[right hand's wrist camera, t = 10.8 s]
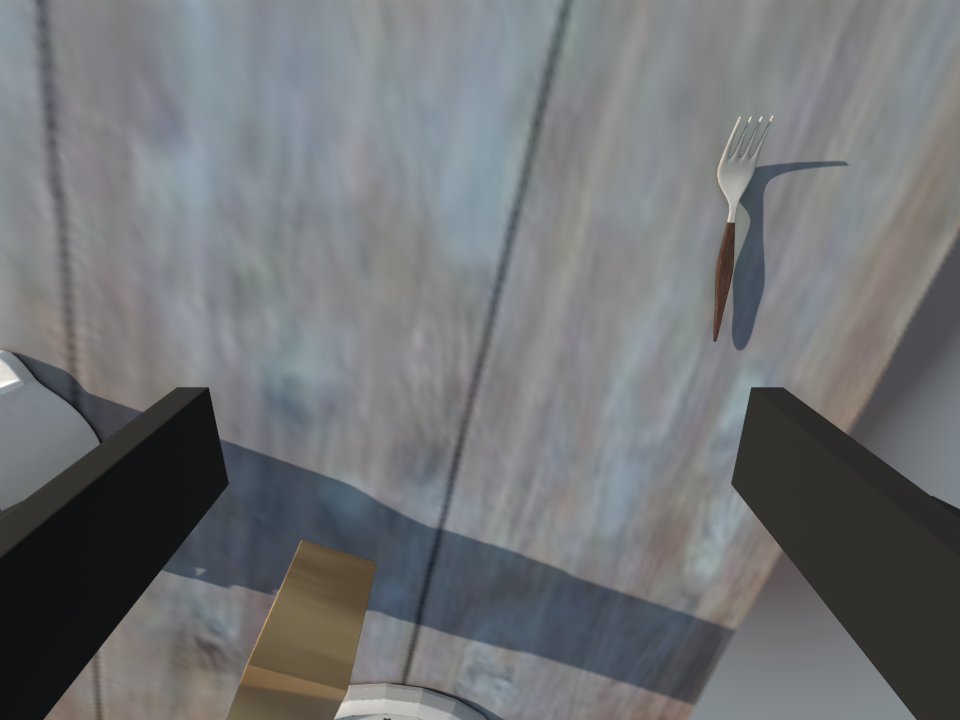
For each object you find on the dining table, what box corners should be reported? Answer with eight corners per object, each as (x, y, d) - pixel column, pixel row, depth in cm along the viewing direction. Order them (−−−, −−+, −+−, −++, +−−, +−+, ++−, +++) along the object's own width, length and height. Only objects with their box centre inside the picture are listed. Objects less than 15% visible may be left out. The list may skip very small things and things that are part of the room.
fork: (695, 339, 41) (705, 348, 39) (723, 119, 35) (737, 116, 33) (728, 338, 41) (740, 347, 39) (761, 117, 35) (777, 115, 33)
